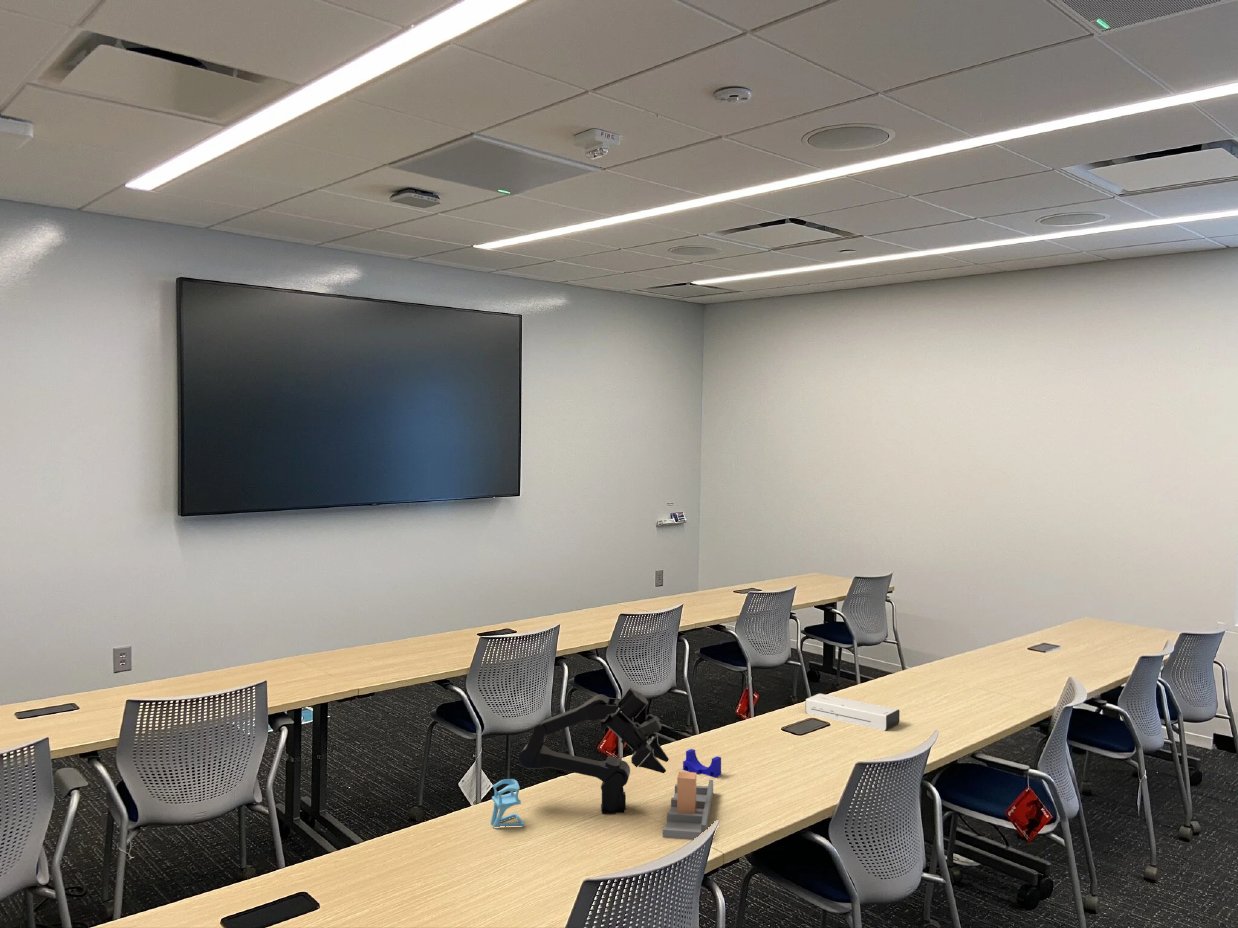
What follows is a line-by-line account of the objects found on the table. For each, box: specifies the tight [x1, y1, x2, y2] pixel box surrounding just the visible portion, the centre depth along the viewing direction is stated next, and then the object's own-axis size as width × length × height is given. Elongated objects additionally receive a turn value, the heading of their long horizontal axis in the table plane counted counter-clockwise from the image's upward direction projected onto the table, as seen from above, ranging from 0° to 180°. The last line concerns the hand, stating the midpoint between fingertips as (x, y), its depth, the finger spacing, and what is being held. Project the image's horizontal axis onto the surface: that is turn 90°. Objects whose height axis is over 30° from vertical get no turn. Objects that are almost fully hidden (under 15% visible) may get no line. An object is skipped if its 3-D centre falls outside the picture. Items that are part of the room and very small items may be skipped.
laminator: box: [805, 693, 900, 732], centre depth 346 cm, size 34×12×6 cm, turn 48°
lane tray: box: [662, 779, 714, 840], centre depth 253 cm, size 12×33×4 cm, turn 170°
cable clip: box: [682, 748, 722, 779], centre depth 287 cm, size 12×4×6 cm, turn 47°
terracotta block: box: [676, 771, 697, 814], centre depth 253 cm, size 5×5×11 cm
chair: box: [490, 778, 525, 827], centre depth 247 cm, size 8×8×12 cm
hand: (666, 766), depth 254 cm, fingers open, 9 cm apart
